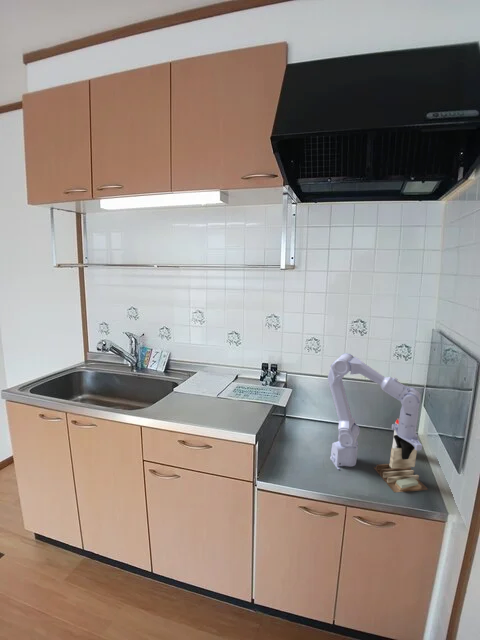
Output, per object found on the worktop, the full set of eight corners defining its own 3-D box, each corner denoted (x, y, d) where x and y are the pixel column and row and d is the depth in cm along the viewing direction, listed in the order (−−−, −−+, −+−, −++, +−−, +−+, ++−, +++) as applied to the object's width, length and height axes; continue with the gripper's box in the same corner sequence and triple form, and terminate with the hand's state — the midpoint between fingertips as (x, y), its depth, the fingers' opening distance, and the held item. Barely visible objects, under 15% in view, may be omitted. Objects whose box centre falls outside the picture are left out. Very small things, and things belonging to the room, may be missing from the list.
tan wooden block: (391, 468, 120) (394, 450, 119) (389, 465, 122) (391, 448, 121) (414, 466, 122) (417, 449, 120) (411, 464, 123) (414, 447, 122)
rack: (394, 494, 116) (395, 487, 115) (372, 469, 129) (373, 462, 129) (428, 492, 118) (429, 484, 117) (403, 467, 131) (404, 460, 131)
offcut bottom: (400, 490, 116) (400, 487, 116) (395, 485, 119) (395, 482, 119) (421, 489, 118) (421, 486, 117) (415, 483, 120) (415, 480, 120)
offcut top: (401, 488, 116) (402, 485, 116) (396, 483, 118) (396, 480, 118) (417, 484, 118) (418, 481, 118) (412, 480, 120) (412, 477, 120)
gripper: (432, 432, 112) (426, 468, 115) (405, 412, 126) (401, 445, 129) (413, 433, 111) (408, 470, 114) (388, 413, 125) (384, 446, 128)
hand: (403, 456), depth 121 cm, fingers closed on tan wooden block, 2 cm apart
